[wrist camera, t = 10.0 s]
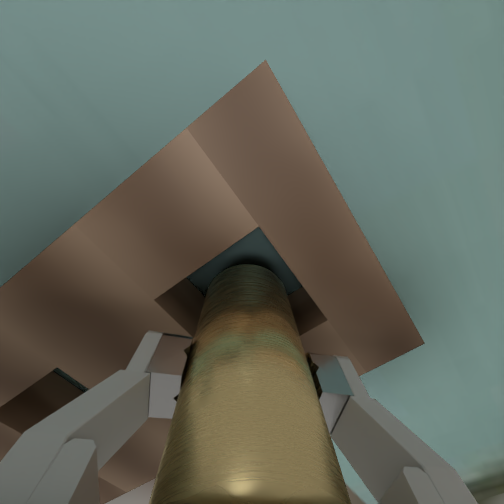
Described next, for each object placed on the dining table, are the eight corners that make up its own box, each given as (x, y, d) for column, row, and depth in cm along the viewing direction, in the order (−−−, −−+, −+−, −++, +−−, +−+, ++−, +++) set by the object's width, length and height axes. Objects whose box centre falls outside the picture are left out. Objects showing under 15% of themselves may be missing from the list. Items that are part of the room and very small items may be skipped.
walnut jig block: (118, 450, 20) (94, 508, 17) (-50, 346, 15) (-129, 398, 12) (385, 302, 15) (424, 343, 12) (258, 89, 11) (265, 59, 7)
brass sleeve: (259, 344, 13) (280, 601, 5) (191, 313, 12) (107, 569, 5) (302, 288, 12) (405, 521, 4) (231, 249, 11) (202, 457, 3)
